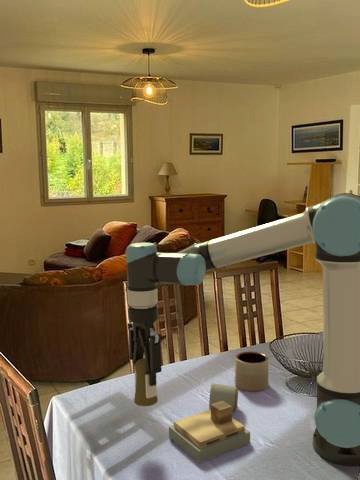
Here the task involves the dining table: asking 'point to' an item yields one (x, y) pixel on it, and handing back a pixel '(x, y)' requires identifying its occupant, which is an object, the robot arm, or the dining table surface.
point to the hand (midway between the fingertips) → (145, 392)
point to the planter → (251, 371)
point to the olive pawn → (142, 385)
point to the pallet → (206, 428)
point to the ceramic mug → (224, 395)
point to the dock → (209, 444)
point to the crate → (221, 412)
